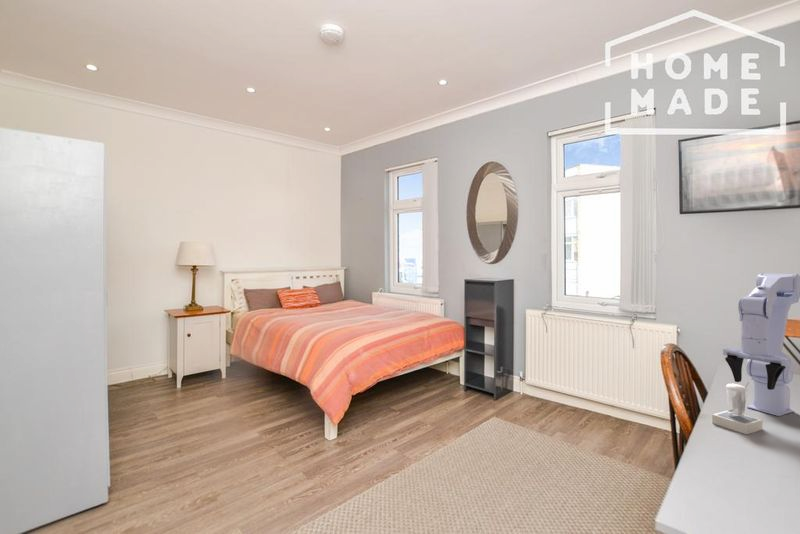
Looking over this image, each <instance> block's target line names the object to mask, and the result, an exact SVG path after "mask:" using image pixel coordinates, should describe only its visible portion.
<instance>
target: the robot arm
mask: <svg viewBox="0 0 800 534" xmlns="http://www.w3.org/2000/svg"><path fill="white" fill-rule="evenodd" d="M755 281H756V282H755V284H756V287H755V288H753V289H752V290H751V292H750V293H749V294H748V295H747V296H743V297H740V298H739V300H738V307H737V308H738V314H739V321H740V322H741V334H740V335H741V338H740V339H741V340H740V341H741V342H740V343H741V345H740V347H741V348H740V349H733V348H723V349H722V355H723V356H726V357H724V358H725V359H724V360H725V362H726V364H727V365H728V366H729V367H730V371H731V373H732V376H733V379H734V382H735V383H740V382H742V373H743V370H742V369H743V363H744V359H746V360H747V361H746V364H745V372H746V374H747V376H749V378H751V380H752V384H753V385H752V386H753V387H752V388H753V390H752V399H753V400H752V404H748V405H746V407H747V408H749V409H752V410H755V411H759V412H763V413H767V414H770V415H774V416H777V417H780V416H781V417H782V416H784V415H786V414H790V413H793V412H795V409H793V408H791V389H790V387H789V386H788V385H789V384H790V383H792V382H793V377H794V368H793V367H794V362H793V360H792V358H791V357H789V355H787V354H785V353H784V352H783V348H784V341H785V335H786V330H787V329H786V328H787V323H788V316H789V311H790V309H791V306H792V305H793V304H796V303H799V300H800V274H799V273H763V272H760V273H759V274H757V276H756V280H755ZM787 384H788V385H787Z"/></svg>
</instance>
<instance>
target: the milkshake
mask: <svg viewBox="0 0 800 534" xmlns="http://www.w3.org/2000/svg"><path fill="white" fill-rule="evenodd" d="M749 384H750V381H747V383H746V385H745V386H744V385H741V384H737V383H727V384H726V385H725V391H726V402H727V410H728V415H729V416H730V417H733V418H737V419H743V418H744V415H745V411H746V402H747V401H746V400H747V393H748V389H747V387H748V386H749Z"/></svg>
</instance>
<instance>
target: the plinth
mask: <svg viewBox="0 0 800 534" xmlns="http://www.w3.org/2000/svg"><path fill="white" fill-rule="evenodd" d="M711 416H712V417H711V423H712V424H714V425H716V426H719V427H722V428H726V429H729V430H732V431H733V432H734V431H735V432H738V433H742V434H744V435H750V434H753V433H755V432H759V431H761V430H763V427H764V425H763V419H760V418H757V417H753V416H749V415H747V414H744V418H743V419H737V418H733V417H730V416H729V415H728V409H727V410H724V411H719V412H716V413H713V414H712V415H711Z"/></svg>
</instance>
